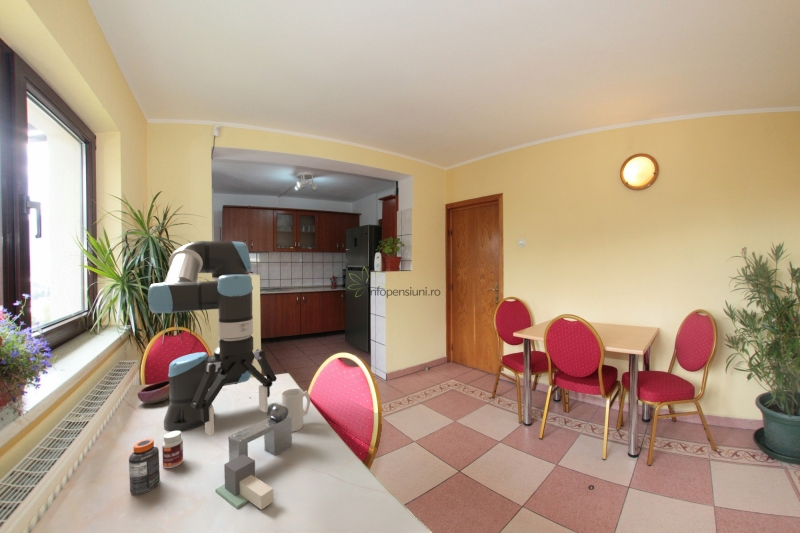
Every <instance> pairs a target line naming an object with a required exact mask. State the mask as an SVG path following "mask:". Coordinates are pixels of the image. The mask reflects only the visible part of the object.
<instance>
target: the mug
mask: <svg viewBox="0 0 800 533" xmlns="http://www.w3.org/2000/svg"><path fill="white" fill-rule="evenodd" d="M308 392H309V391H308V390H303V389H302V388H290V389H287V390H284V391H283V392H281V399H282V400H281V402H282V404H281V405H282V406H284V407H287V408H288V415H289V416H291V421H292V432H297V431H299V430H301V429H302V428H303V427H304V416H305V415H308V413H309V409H310V405H311V398H310V394H309V393H308ZM304 397H305V398H306V405H305V408H304Z"/></svg>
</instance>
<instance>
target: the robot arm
mask: <svg viewBox="0 0 800 533" xmlns="http://www.w3.org/2000/svg"><path fill="white" fill-rule="evenodd" d="M248 248H249V247H248V245H247V244H246V243H245V242H242V241H235V240H234V241H233V240H231V241H229V240H227V241H226V240H225V241H222V240H221V241H218V240H217V241H215V240H211V241H210V240H207V241H206V240H197V241H192V242H189V243H186V244H184V245H181V246H180V247H178V248H176V249H175V250H174V251H173V252H172V253H171V255H170V257H169V258H168V267H169V269H168V271H167V275H166V277H165V279H164V281H162V282H157V283H152V284H150V286H149V288H148V293H147V303H148V309H149V311H150V312H151V313H153V314H172V313H182V312H194V311H208V310H209V311H210V310H217V334H218V335H217V336H218V338H217V339H218V341H217V342H218V343H217V344H218V346H217V347H216V348H214V350H213V355H208V353H207V352H205V351H201V352H199V351H198V352H194V353H190V354H186V355H183V356H180V357H177V358H176V359H174V360H172V361H171V362H170V364H169V365H168V374H167V377H168V380H169V397H168V398H169V404H168V407H167V410H166V413H165V416H164V419H163V429H164V430H166V429H167V430H166V431H170V432H172V431H181V432H182V431H187V430H192V429H194V428H197V427H200V426H202V425H204V433H205V434H207V435H208V436H209V437H212V436H214V435H215V408H214V406H213V402H214V401H215V399H216V398H217V396H218V395H219V393H221V390H222V389H223V387H225V386H231V385H238V384H241V383H245V382H248V381H249V380H250V378H251V376H253V378H255V379H256V380H257V381H258V382H259V383H260V385H258V405H259V406H258V409H259V411H261V412H263V413H267V411H268V407H269V405H268V398H270V396H271V395H270V394H271V391H270V390H271V389H270V388H271V387H272V386H273V382H276V381H277V377H276V376H277V375H275V373H274V370H273V369H272V367H271V365H270V363H269V362H268V360H267V358H266V357H267V356H266V352H265V350H262V349H259V348H257V349H255V351H253V350H254V336H252V335H253V333H254V321H253V319H254V318H253V290H254V287H253V282H252V276H251V275H250V274H248V273H250V272H251V271H252V264H251V258H250V252H249V249H248ZM199 274H211V278H212V279H213V280H207V281H198V279H199V278H198V277H199ZM254 360H256V361H257V362H258V364H259V366H260V368H261V370H262V371H263V373H264V375H263V374H262V373H261V372H260V371H259V370H258V369H257V368H256V367H255V366H254V365H253V362H254Z"/></svg>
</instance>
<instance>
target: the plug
mask: <svg viewBox="0 0 800 533" xmlns="http://www.w3.org/2000/svg"><path fill="white" fill-rule="evenodd" d="M223 465H224V466H223V467H224V472H223V473H224V484H225V489H226V490H228V491H229V492H230V493H232V494H233V495H234V496H237V495H239V494H241V495H242V496H243V497H245V498H246V499H247V500H249V501H248V502H250V503H252V505H254V506H255V507H256V508H258V509H260V510H263V509H264V508H266V507H268V506H269V505H271V504H272V503H273V502H274V488H273V487H271V486H270V485H268V484H267V483H265V482H264V483H263V481H262V480H260V479H259V478H257V476H256V460H255V459H253V458H251V457H249V455H248V456H246V455H245V454H243V455H241V456H239V457H237V458H235V459H234V460H232V461H230V462H229V461H228V462H226V463H224V464H223Z"/></svg>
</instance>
